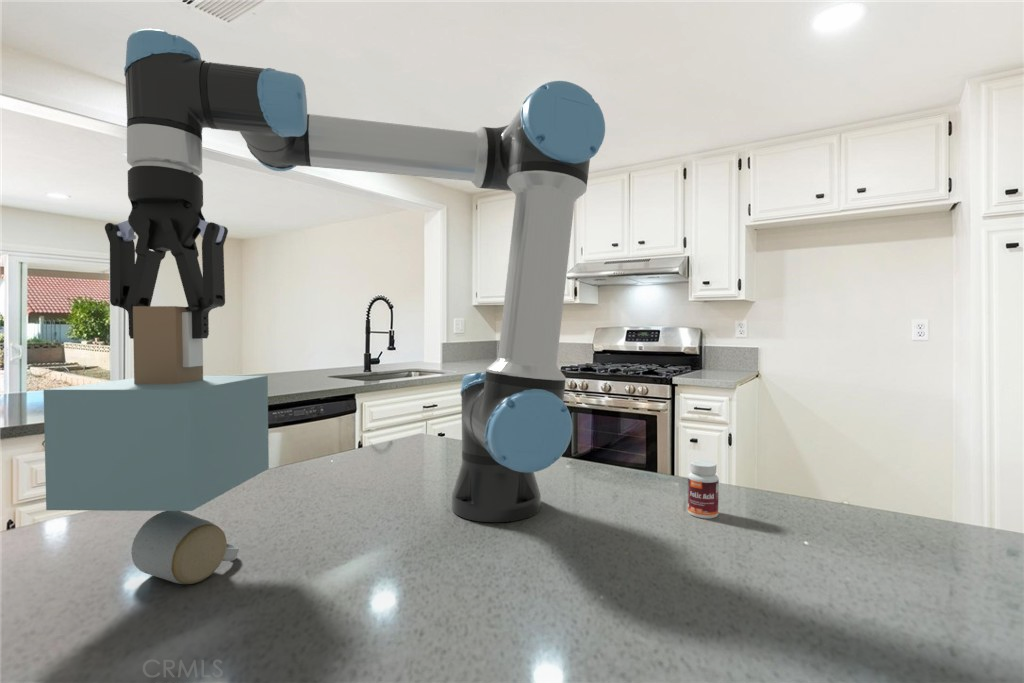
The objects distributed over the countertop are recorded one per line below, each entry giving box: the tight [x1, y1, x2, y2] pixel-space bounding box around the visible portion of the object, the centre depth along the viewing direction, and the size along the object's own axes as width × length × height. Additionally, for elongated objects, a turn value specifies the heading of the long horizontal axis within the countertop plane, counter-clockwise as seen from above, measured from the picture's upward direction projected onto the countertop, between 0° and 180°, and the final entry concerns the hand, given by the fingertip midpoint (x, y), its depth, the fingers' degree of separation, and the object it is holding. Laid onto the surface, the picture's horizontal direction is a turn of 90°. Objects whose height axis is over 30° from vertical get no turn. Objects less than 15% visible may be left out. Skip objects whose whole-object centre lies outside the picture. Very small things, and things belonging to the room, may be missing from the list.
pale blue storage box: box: [43, 305, 270, 512], centre depth 63 cm, size 16×17×22 cm
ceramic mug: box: [131, 511, 240, 585], centre depth 65 cm, size 11×8×8 cm
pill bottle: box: [687, 459, 720, 520], centre depth 85 cm, size 5×5×8 cm
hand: (169, 366), depth 63 cm, fingers closed on pale blue storage box, 5 cm apart
